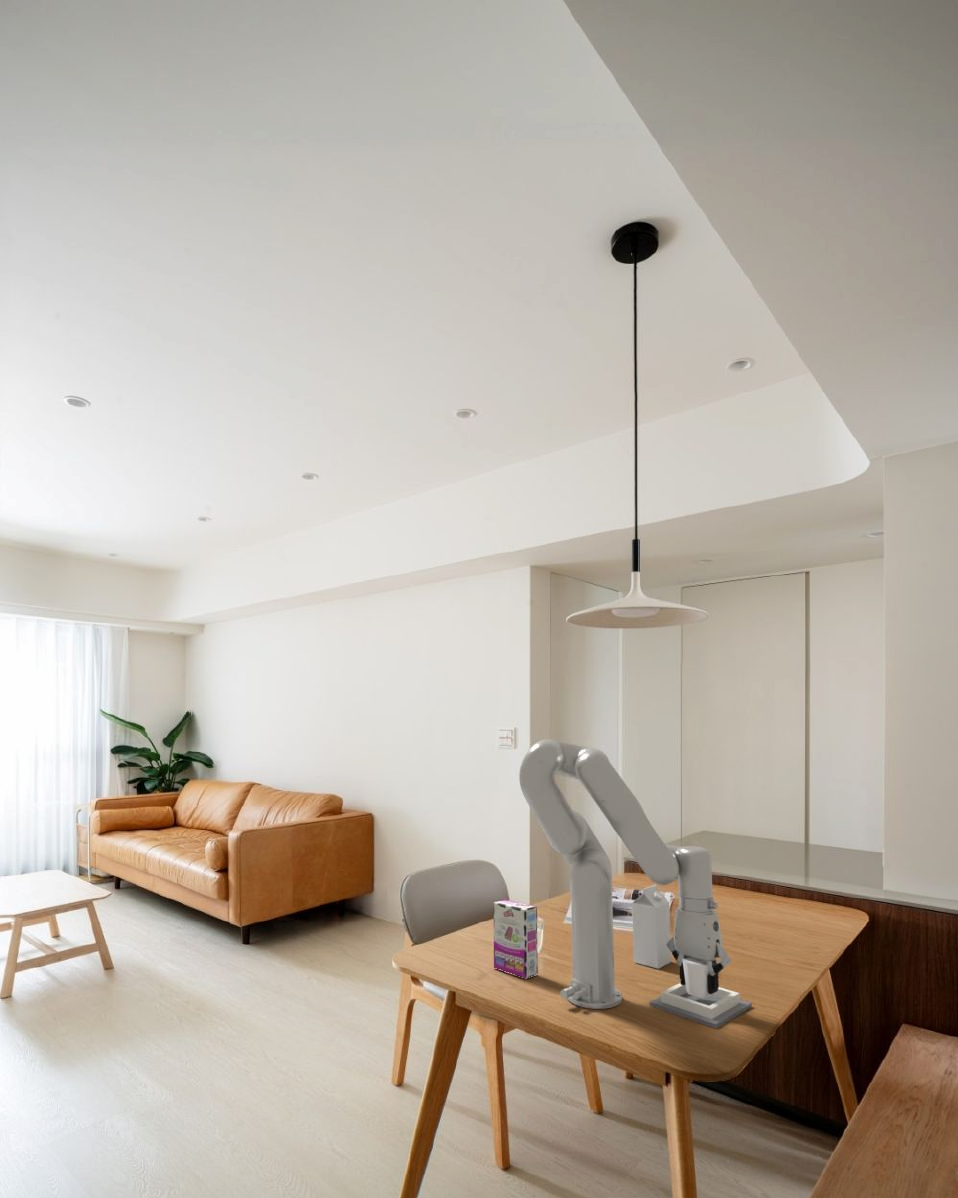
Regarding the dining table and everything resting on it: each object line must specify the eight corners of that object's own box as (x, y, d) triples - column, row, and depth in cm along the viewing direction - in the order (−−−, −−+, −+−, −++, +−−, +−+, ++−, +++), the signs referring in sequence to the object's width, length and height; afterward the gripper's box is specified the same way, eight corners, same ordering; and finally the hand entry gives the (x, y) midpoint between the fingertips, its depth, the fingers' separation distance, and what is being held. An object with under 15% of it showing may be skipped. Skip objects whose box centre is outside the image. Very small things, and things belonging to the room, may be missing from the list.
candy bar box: (539, 975, 179) (538, 906, 181) (526, 980, 175) (525, 910, 178) (505, 964, 187) (505, 898, 189) (492, 969, 183) (492, 901, 186)
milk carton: (633, 963, 187) (631, 887, 190) (647, 956, 193) (645, 882, 195) (658, 969, 183) (655, 891, 186) (671, 962, 188) (668, 886, 191)
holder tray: (715, 1028, 149) (715, 1014, 149) (649, 1005, 161) (649, 992, 161) (751, 1006, 160) (751, 993, 160) (687, 986, 171) (687, 974, 172)
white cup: (691, 984, 165) (689, 952, 167) (720, 991, 161) (718, 958, 162) (678, 993, 160) (677, 960, 161) (708, 1001, 156) (707, 966, 157)
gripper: (739, 908, 160) (743, 994, 157) (671, 893, 172) (674, 973, 170) (722, 915, 155) (726, 1004, 152) (654, 899, 167) (656, 981, 165)
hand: (699, 987), depth 161 cm, fingers closed on white cup, 6 cm apart
